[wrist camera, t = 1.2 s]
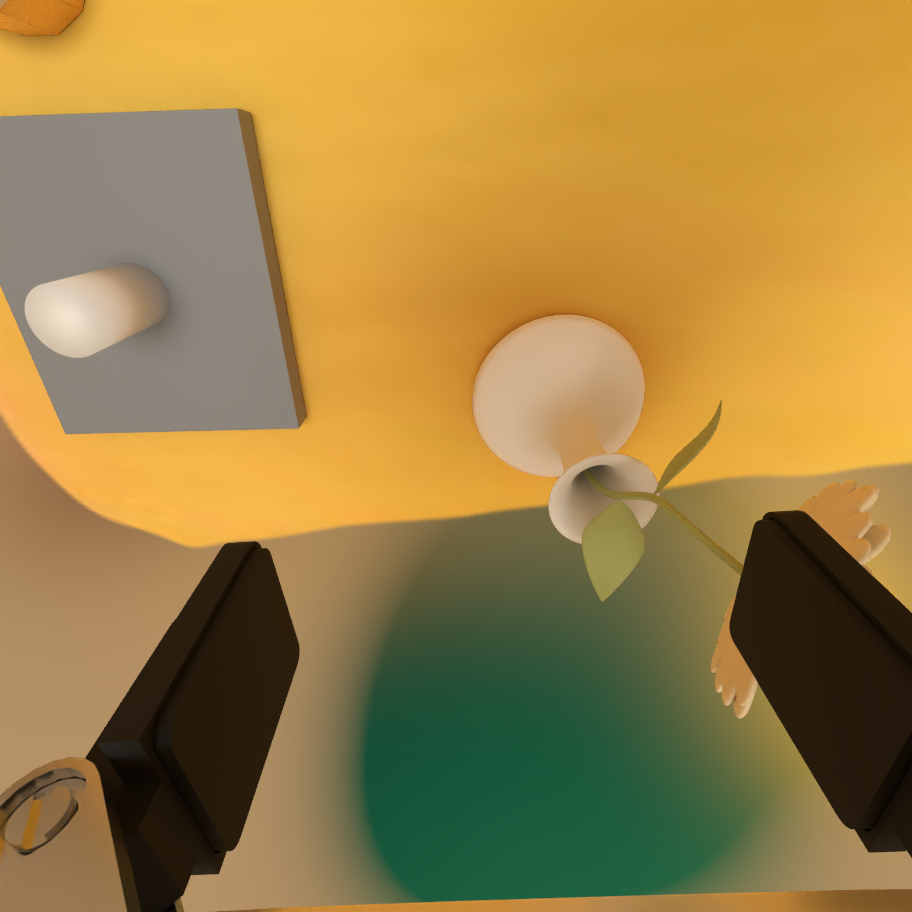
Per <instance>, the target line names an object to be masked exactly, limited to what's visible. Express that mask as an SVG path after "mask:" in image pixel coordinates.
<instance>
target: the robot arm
mask: <svg viewBox="0 0 912 912" xmlns="http://www.w3.org/2000/svg"><path fill="white" fill-rule="evenodd" d="M729 630H730V635H731V638H732V640H733V642H734V644H735V646H736V647H737V649H738V651H739V652H740V654H741V656H742V657H743V659H744V661H745V662H746V664H747V666H748V667H749V669H750V671H751V672H752V674H753V676H754V677H755V679H756V681H757V682H758V684H759V686H760V687H761V689H762V691H763V692H764V694H765V696H766V697H767V699H768V700H769V702H770V704H771V706H772V707H773V709H774V711H775V712H776V714H777V716H778V717H779V719H780V721H781V722H782V724H783V726H784V727H785V729H786V731H787V732H788V734H789V736H790V738H791V739H792V741H793V743H794V744H795V746H796V748H797V749H798V751H799V753H800V754H801V756H802V758H803V759H804V761H805V763H806V764H807V766H808V767H809V769H810V771H811V772H812V774H813V776H814V778H815V779H816V781H817V783H818V784H819V786H820V788H821V789H822V791H823V793H824V794H825V796H826V798H827V799H828V801H829V802H830V804H831V806H832V808H833V809H834V811H835V813H836V814H837V816H838V817H839V819H840V820H841V821H842V823H843V824H844V825H845V826H846V827H848V828H850V829H855V831H856V832H857V834H858V836H859V837H860V839H861V841H862V842H863V843H864V845H865V847H866V849H867V850H868V852H897V851H906V850H907V852H908V853H909V854H910V856H911V857H912V613H911V612H910V611H909V610H908V609H907V608H906V607H905V606H904V605H903V604H902V603H901V602H900V601H899V600H898V599H896V598H895V597H894V596H893V595H892V594H891V593H890V592H889V591H888V590H887V589H886V588H885V587H884V586H883V585H882V584H881V583H880V582H879V581H878V580H876V579H875V578H874V577H873V576H872V575H871V574H870V573H869V572H868V571H867V570H866V569H865V568H864V567H863V566H862V565H861V564H860V563H859V562H858V561H857V560H856V559H854V558H853V557H852V556H851V555H850V554H849V553H848V552H847V551H846V550H845V549H844V548H843V547H842V546H841V545H840V544H839V543H838V542H837V541H836V540H835V539H833V538H832V537H831V536H830V535H829V534H828V533H827V532H826V531H825V530H824V529H823V528H822V527H821V526H820V525H819V524H818V523H817V522H816V521H815V520H814V519H812V518H811V517H810V516H809V515H808V514H807V513H805V512H804V511H800V510H795V511H778V512H768V513H766V514H765V515H764V516H763V519H762V520H759V521H757V522H756V523H755V525H754V527H753V531H752V535H751V539H750V543H749V547H748V551H747V555H746V559H745V562H744V566H743V570H742V574H741V578H740V582H739V586H738V590H737V594H736V598H735V602H734V606H733V610H732V614H731V618H730V622H729ZM298 660H299V643H298V640H297V636H296V633H295V630H294V627H293V624H292V620H291V617H290V614H289V611H288V607H287V605H286V601H285V598H284V595H283V591H282V588H281V585H280V582H279V579H278V576H277V572H276V569H275V566H274V563H273V559H272V556H271V553H270V551H269V550H268V549H266V548H263V549H262V548H261V545H260V544H259V543H258V542H255V541H253V542H236V543H227V544H225V545H224V546H223V547H222V548H221V550H220V551H219V553H218V554H217V556H216V558H215V560H214V561H213V563H212V564H211V565H210V567H209V569H208V570H207V572H206V573H205V575H204V576H203V578H202V579H201V581H200V583H199V584H198V586H197V587H196V589H195V590H194V592H193V593H192V595H191V597H190V598H189V600H188V601H187V603H186V605H185V606H184V608H183V609H182V611H181V612H180V614H179V616H178V617H177V618H176V619H175V621H174V622H173V623H172V624H171V626H170V627H169V629H168V630H167V632H166V633H165V635H164V637H163V638H162V640H161V641H160V643H159V644H158V646H157V647H156V649H155V651H154V652H153V654H152V655H151V657H150V658H149V660H148V661H147V663H146V665H145V666H144V668H143V669H142V671H141V672H140V674H139V675H138V677H137V679H136V680H135V682H134V683H133V685H132V686H131V688H130V689H129V691H128V693H127V694H126V696H125V697H124V699H123V700H122V702H121V703H120V705H119V707H118V708H117V710H116V711H115V713H114V714H113V716H112V717H111V719H110V721H109V722H108V724H107V725H106V727H105V728H104V730H103V731H102V733H101V735H100V736H99V738H98V739H97V741H96V742H95V744H94V745H93V747H92V748H91V750H90V752H89V753H88V755H87V756H86V758H77V757H68V758H64V759H60V760H56V761H52V762H50V763H48V764H46V765H43V766H41V767H39V768H37V769H35V770H33V771H31V772H30V773H28V774H27V775H25V776H24V777H22V778H21V779H19V780H18V781H16V782H15V783H13V784H12V785H11V786H10V787H9V788H8V789H7V790H6V791H5V792H3V793H2V794H1V795H0V912H184V909H183V905H182V901H181V898H180V897H181V896H182V895H183V894H184V891H185V889H186V886H187V884H188V881H189V879H190V876H191V875H205V874H219V872H220V869H221V866H222V863H223V860H224V857H225V855H226V852H227V851H232V850H233V849H234V848H235V847H236V846H237V844H238V842H239V839H240V837H241V833H242V831H243V828H244V825H245V822H246V819H247V816H248V813H249V810H250V806H251V804H252V800H253V797H254V795H255V792H256V788H257V785H258V782H259V779H260V776H261V773H262V770H263V767H264V764H265V761H266V758H267V755H268V752H269V749H270V746H271V743H272V740H273V737H274V734H275V730H276V728H277V725H278V722H279V719H280V716H281V713H282V710H283V707H284V704H285V701H286V697H287V694H288V691H289V688H290V685H291V682H292V679H293V676H294V673H295V670H296V667H297V664H298ZM218 912H912V889H909V890H908V889H903V890H901V889H900V890H898V889H897V890H895V889H894V890H835V891H797V892H756V893H717V894H679V895H645V896H613V897H612V896H611V897H580V898H579V897H578V898H548V899H547V898H546V899H514V900H482V901H452V902H427V903H399V904H398V903H397V904H370V905H343V906H315V907H289V908H270V909H254V910H235V911H218Z"/></svg>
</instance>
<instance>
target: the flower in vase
mask: <svg viewBox="0 0 912 912" xmlns="http://www.w3.org/2000/svg"><path fill="white" fill-rule="evenodd" d="M644 394H645V381H644V374H643V369H642V366H641V363H640V360H639V358H638V356H637V354H636V352H635V350H634V349H633V347H632V346H631V344H630V343H629V342H628V341H627V340H626V339H625V338H624V336H623V335H621V334H620V333H619V332H618V331H616V330H615V329H614V328H612V327H610V326H609V325H607V324H605V323H603V322H601V321H598V320H596V319H593V318H589V317H585V316H580V315H571V314H567V315H553V316H547V317H543V318H540V319H536V320H533V321H531V322H528V323H526V324H524V325H522V326H520V327H518V328H517V329H515V330H513V331H512V332H510V333H509V334H508V335H507V336H505V337H504V338H503V339H502V340H501V341H500V342H499V343H498V344H497V345H496V346H495V347H494V348H493V349H492V350H491V351H490V353H489V354H488V355H487V357H486V358H485V360H484V362H483V364H482V365H481V367H480V369H479V372H478V374H477V377H476V380H475V384H474V387H473V395H472V410H473V416H474V420H475V424H476V427H477V429H478V432H479V434H480V436H481V438H482V439H483V441H484V442H485V444H486V445H487V446H488V447H489V449H490V450H491V451H492V452H493V453H494V454H495V455H497V456H498V457H499V458H500V459H501V460H503V461H504V462H506V463H507V464H509V465H510V466H512V467H514V468H516V469H518V470H520V471H523V472H526V473H529V474H533V475H537V476H546V477H559V478H558V480H557V481H556V483H555V484H554V486H553V488H552V491H551V494H550V497H549V505H548V507H549V514H550V518H551V520H552V522H553V524H554V525H555V527H556V529H557V530H558V531H559V532H560V533H561V534H562V535H564V536H565V537H567V538H568V539H570V540H572V541H574V542H577V543H580V544H582V551H583V556H584V561H585V564H586V568H587V571H588V573H589V576H590V579H591V581H592V583H593V586H594V588H595V590H596V592H597V594H598V596H599V598H600V600H601V601H604V600H605V599H606V598H607V597H608V596H610V594H611V593H612V592H613V591H614V590H615V589H616V588H617V587H618V586H619V585H620V584H621V583H622V582H623V581H624V580H625V578H626V577H627V576H628V575H629V574H630V573H631V571H632V570H633V569H634V567H635V566H636V565H637V563H638V562H639V560H640V559H641V557H642V555H643V553H644V551H645V545H646V543H645V537H644V534H643V531H642V528H643V527H644V526H645V525H646V524H647V523H648V522H649V521H650V519H651V518H652V516H653V515H654V513H655V511H656V509H657V506H658V505H659V506H660V507H662V508H663V509H664V510H666V511H667V512H668V513H669V514H670V515H671V516H672V517H673V518H674V519H675V520H676V521H677V522H679V523H680V524H681V525H682V526H683V527H684V528H685V529H686V530H687V531H689V532H690V533H691V534H692V535H693V536H694V537H695V538H697V539H698V540H699V541H700V542H701V543H702V544H704V545H705V546H706V547H707V548H708V549H709V550H711V551H712V552H713V553H715V555H717V556H718V557H719V558H720V559H721V560H723V561H724V562H725V563H726V564H727V565H729V566H730V567H731V568H732V569H733V570H735V571H736V572H737V573H738V574H740V575H741V574H742V570H743V565H742V564H741V563H740V562H738V561H737V560H736V559H735V558H733V557H732V556H731V555H730V554H729V553H727V552H726V551H725V550H723V549H722V548H721V547H720V546H719V545H717V544H716V543H715V542H714V541H713V540H711V539H710V538H709V537H708V536H707V535H705V534H704V533H703V532H702V531H701V530H699V529H698V528H697V527H696V526H695V525H694V524H692V523H691V522H690V521H689V520H688V519H687V518H686V517H684V516H683V515H682V514H681V513H680V512H679V511H678V510H677V509H676V508H675V507H673V506H672V505H671V504H670V503H669V502H667V501H666V500H665V499H663V498H662V497H660V496H659V492H660V491H661V490H662V489H663V488H664V487H665V486H666V485H667V484H668V483H669V482H670V481H671V480H672V479H673V478H674V477H675V476H676V475H677V474H678V473H679V472H680V471H681V470H683V469H684V468H685V467H686V466H687V465H688V464H689V463H690V462H691V461H692V460H693V459H694V458H695V457H696V456H697V455H698V454H699V452H700V451H701V450H702V449H703V448H704V447H705V445H706V444H707V443H708V441H709V440H710V439H711V437H712V435H713V434H714V432H715V430H716V428H717V426H718V423H719V420H720V415H721V406H722V402H721V401H720V404H719V406H718V409H717V411H716V413H715V415H714V416H713V418H712V420H711V421H710V423H709V424H708V425H707V426H706V428H705V429H704V430H703V431H702V432H701V433H700V434H699V435H698V436H697V437H696V438H695V439H693V440H692V441H691V442H690V443H689V444H688V445H687V446H686V447H684V448H683V449H682V450H681V451H680V452H679V453H678V454H677V455H676V456H675V457H674V458H673V459H672V461H671V462H670V463H669V465H668V466H667V468H666V470H665V471H664V473H663V475H662V477H661V479H660V481H659V484H658V482H657V479H656V477H655V475H654V474H653V472H652V471H651V470H650V469H649V468H648V467H647V466H646V465H645V464H644V463H642V462H641V461H639V460H637V459H635V458H633V457H630V456H627V455H623V454H616V452H617V451H618V450H619V449H620V448H621V447H622V446H623V445H624V443H625V442H626V441H627V439H628V438H629V437H630V435H631V434H632V432H633V430H634V429H635V427H636V425H637V422H638V420H639V418H640V414H641V411H642V407H643V401H644ZM856 487H857V484H856V481H847V482H846V483H843V484H842V485H840V484H839V483H838V482H835V483H832V484H830V485H829V486H827V487H826V488H824V489H823V490H822V491H821V492H820V493H819V494H818V495H817V496H813V497H812V498H810V499H808V500H807V501H806V502H805V503H803V504H802V506H801V507H800V508H799V509H798V510H800V511H804V512H805V513H807V514H808V515H809V516H810V517H811V518H812V519H814V520H815V521H816V522H817V523H818V524H819V525H820V526H821V527H822V528H823V529H824V530H825V531H826V532H827V533H828V534H829V535H830V536H831V537H832V538H833V539H835V540H836V541H837V542H838V543H839V544H840V545H841V546H842V547H843V548H844V549H845V550H846V551H847V552H848V553H849V554H850V555H851V556H852V557H853V558H854V559H856V560H857V561H858V562H859V563H860V564H861V565H862V566H863V567H864V568H865V569H866V570H867V571H868V572H869V573H870V574H871V575H872V572H871V570H870V569H869V568H868V567H867V566H864V565H863V564H864V563H866V562H868V561H869V560H871V559H872V558H873V557H875V556H876V555H877V554H879V553H880V552H881V551H882V550H883V549H884V547H885V546H886V545H887V543H888V542H889V540H890V537H891V530H890V528H889V526H887V525H883V524H880V525H874V526H871V525H872V522H873V515H872V514H871V513H869V512H866V511H867V510H868V509H869V508H870V507H871V506H872V505H873V504H874V502H875V501H876V499H877V497H878V495H879V489H878V487H877V486H874V485H866V486H863V487H860V488H858V489H856ZM855 489H856V490H855ZM872 576H873V575H872ZM735 598H736V596H735V597H734V598H733V600H732V601H731V603H730V605H729V607H728V609H727V612H726V615H725V618H724V625H723V627H722V629H721V632H720V635H719V638H718V641H717V647H716V650H715V652H714V656H713V659H712V663H711V671H712V672H716V671H717V674H716V679H715V680H716V681H715V688H716V691H717V692H721V691H722V701H723V703H724V704H725V705H726V706H727V705H729V704H730V703H731V702H732V701H733V700H734V711H735V714H736V716H737V717H738V718H743V717H744V716H745V715H746V713H747V712H748V710H749V708H750V706H751V703H752V701H753V698H754V695H755V692H756V689H757V686H758V682H757V681H756V679H755V677H754V676H753V674H752V672H751V671H750V669H749V667H748V666H747V664H746V662H745V661H744V659H743V657H742V656H741V654H740V652H739V651H738V649H737V647H736V646H735V644H734V642H733V640H732V638H731V635H730V630H729V622H730V618H731V614H732V610H733V606H734V602H735Z"/></svg>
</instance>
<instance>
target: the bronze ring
mask: <svg viewBox="0 0 912 912" xmlns="http://www.w3.org/2000/svg"><path fill="white" fill-rule="evenodd" d="M83 6H84V0H0V28H2V29H5V30H8V31H11V32H14V33H17V34H20V35H23V36H36V35H59V34H60V33H61V32H62V31H63V30H64V29H65V28H66V27H67V26H68V25H69V24H70V23H71V22H72V21H73V20H74V19H75V18H76V17H77V16H78V15H79V14H80V13H81V12H82V11H83Z"/></svg>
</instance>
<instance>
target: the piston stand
mask: <svg viewBox="0 0 912 912" xmlns="http://www.w3.org/2000/svg"><path fill="white" fill-rule="evenodd" d="M0 286H1V288H2V290H3V293H4V295H5V297H6V299H7V302H8V304H9V306H10V309H11V311H12V313H13V315H14V318H15V320H16V322H17V324H18V327H19V329H20V331H21V334H22V336H23V338H24V340H25V343H26V345H27V347H28V350H29V352H30V354H31V356H32V359H33V361H34V363H35V366H36V368H37V370H38V372H39V375H40V377H41V379H42V382H43V384H44V386H45V388H46V391H47V393H48V395H49V397H50V400H51V402H52V404H53V407H54V409H55V411H56V413H57V416H58V418H59V420H60V423H61V425H62V427H63V429H64V432H65V434H92V433H132V432H173V431H214V430H255V429H295V428H299V427H300V426H301V424H302V423H303V421H304V420H305V418H306V411H305V405H304V400H303V394H302V389H301V383H300V378H299V373H298V367H297V362H296V356H295V351H294V345H293V340H292V334H291V329H290V324H289V318H288V313H287V307H286V302H285V296H284V291H283V285H282V280H281V275H280V269H279V264H278V258H277V253H276V247H275V242H274V236H273V231H272V226H271V220H270V215H269V209H268V204H267V198H266V193H265V188H264V182H263V177H262V171H261V166H260V160H259V155H258V149H257V144H256V139H255V133H254V128H253V122H252V117H251V113H249V112H246V111H243V110H240V109H237V108H234V109H205V110H176V111H147V112H118V113H89V114H60V115H31V116H2V117H0Z"/></svg>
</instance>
